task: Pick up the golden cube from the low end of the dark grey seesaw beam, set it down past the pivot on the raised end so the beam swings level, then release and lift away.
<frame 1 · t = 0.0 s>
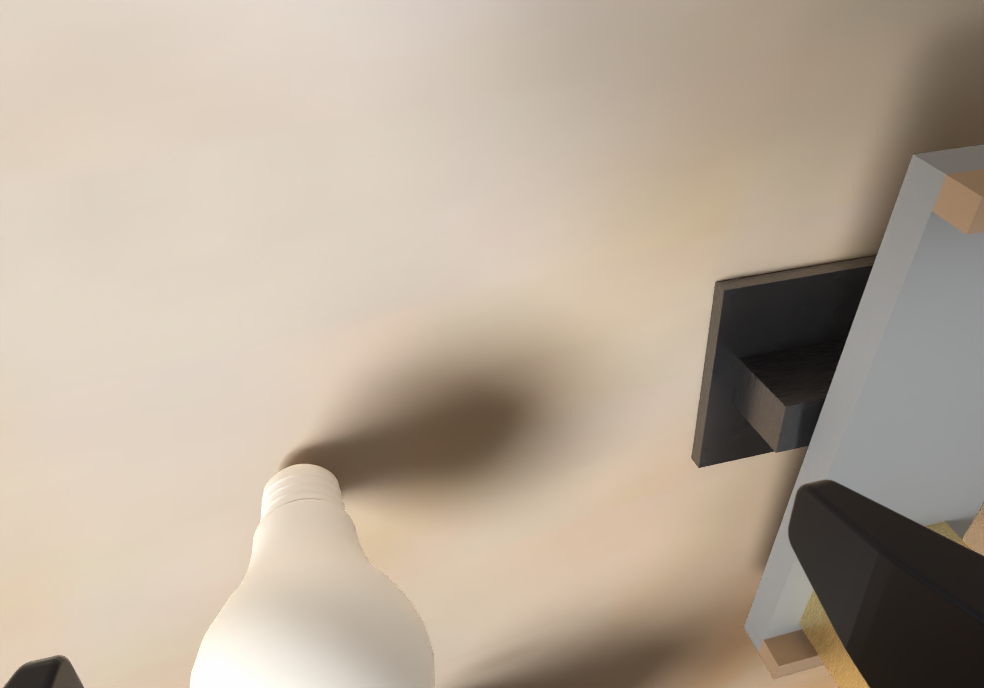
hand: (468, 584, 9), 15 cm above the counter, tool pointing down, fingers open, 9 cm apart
beam: (929, 454, 26), point 5 cm above the counter, hinge at -6.2°, touching golden cube
pivot stand: (843, 349, 30), on the counter
lightbulb: (300, 473, 27), on the counter
golden cube: (869, 574, 31), point 4 cm above the counter, tilted 6°, touching beam
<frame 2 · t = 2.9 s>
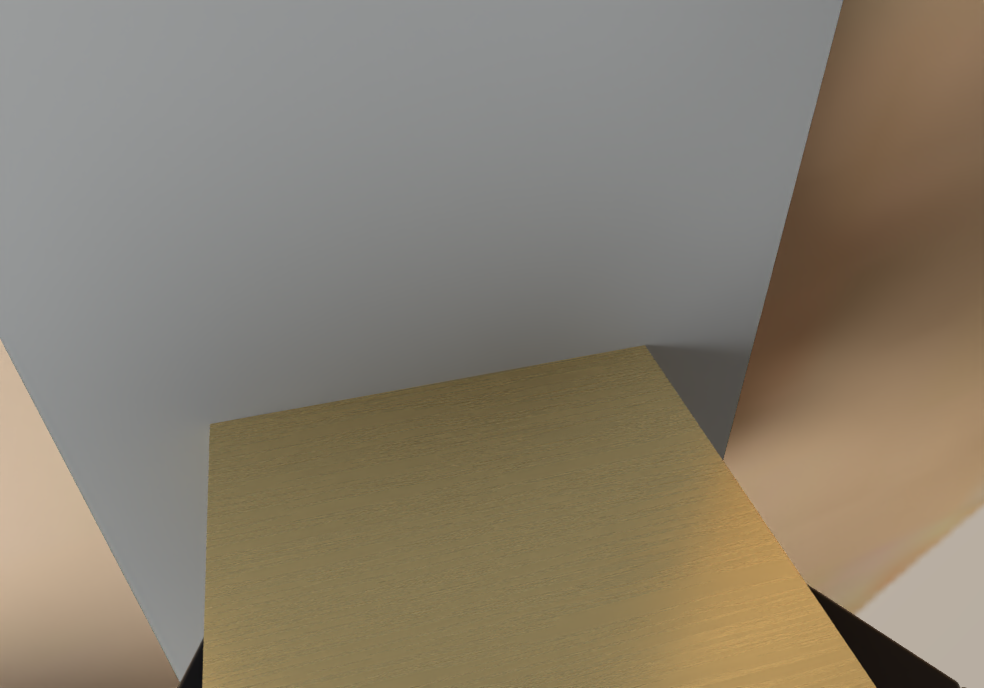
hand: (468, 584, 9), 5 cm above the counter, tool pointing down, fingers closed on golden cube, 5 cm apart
golden cube: (449, 522, 10), point 4 cm above the counter, tilted 6°, touching beam, gripper
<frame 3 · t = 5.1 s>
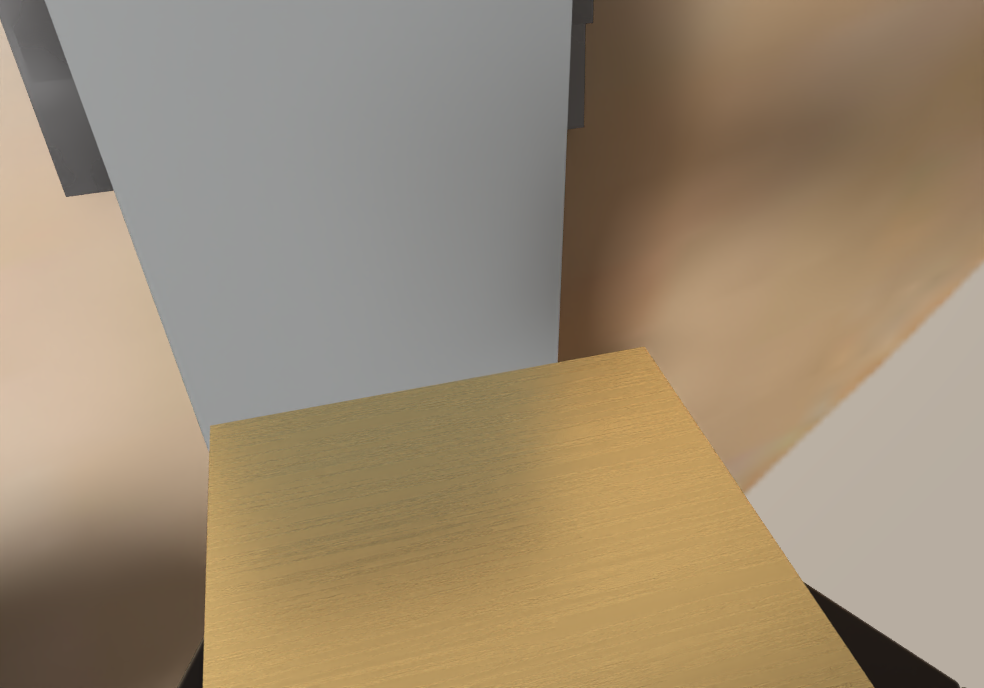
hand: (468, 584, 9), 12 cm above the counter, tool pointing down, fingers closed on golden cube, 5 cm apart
beam: (341, 76, 13), point 5 cm above the counter, hinge at -6.1°
golden cube: (449, 523, 10), point 11 cm above the counter, tilted 6°, touching gripper
when the fingers open (8 cm above the counter, at t = 7.5 s): golden cube stays where it is, resting on beam.
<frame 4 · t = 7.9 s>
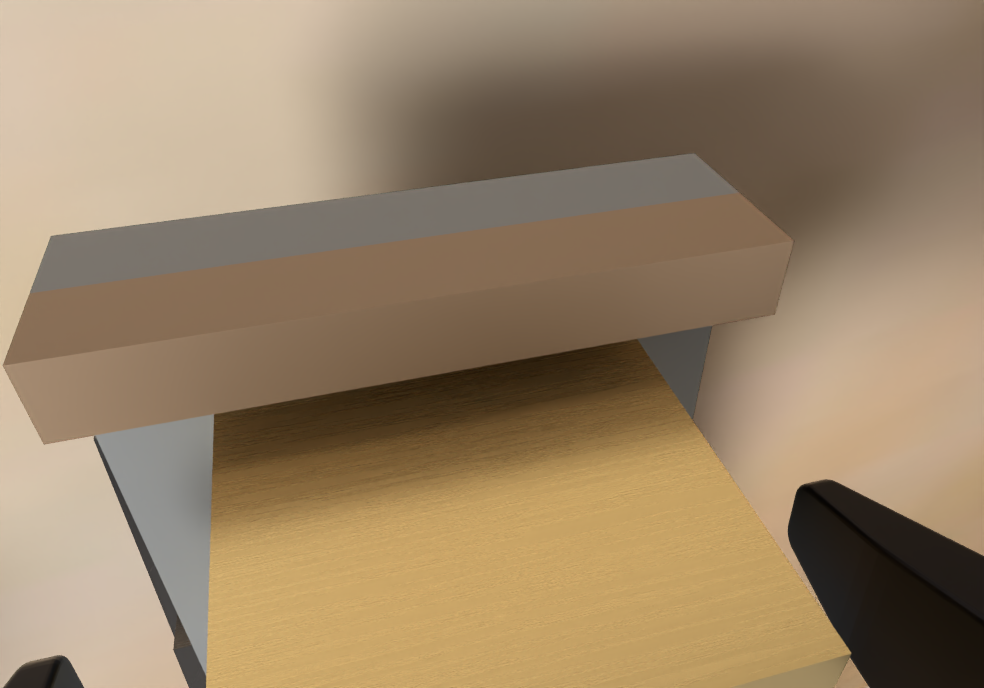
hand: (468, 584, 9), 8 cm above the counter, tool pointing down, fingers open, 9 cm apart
pivot stand: (408, 502, 19), on the counter
golden cube: (436, 476, 11), point 6 cm above the counter, tilted 5°, touching beam
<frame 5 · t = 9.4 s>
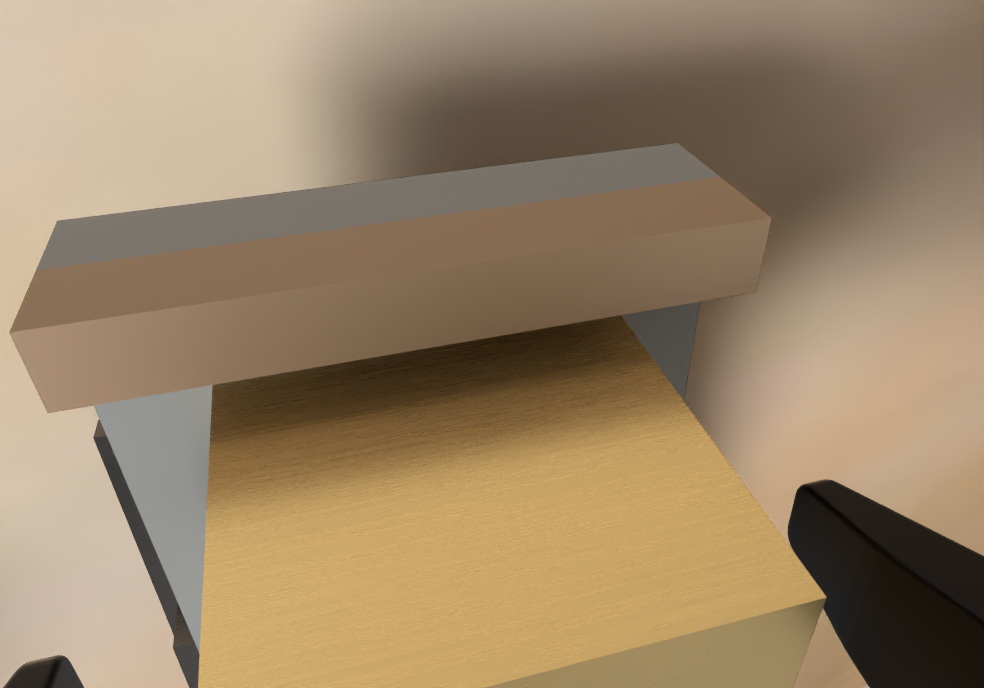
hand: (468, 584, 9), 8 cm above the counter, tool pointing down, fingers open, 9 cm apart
pivot stand: (407, 501, 19), on the counter
golden cube: (431, 461, 11), point 6 cm above the counter, touching beam
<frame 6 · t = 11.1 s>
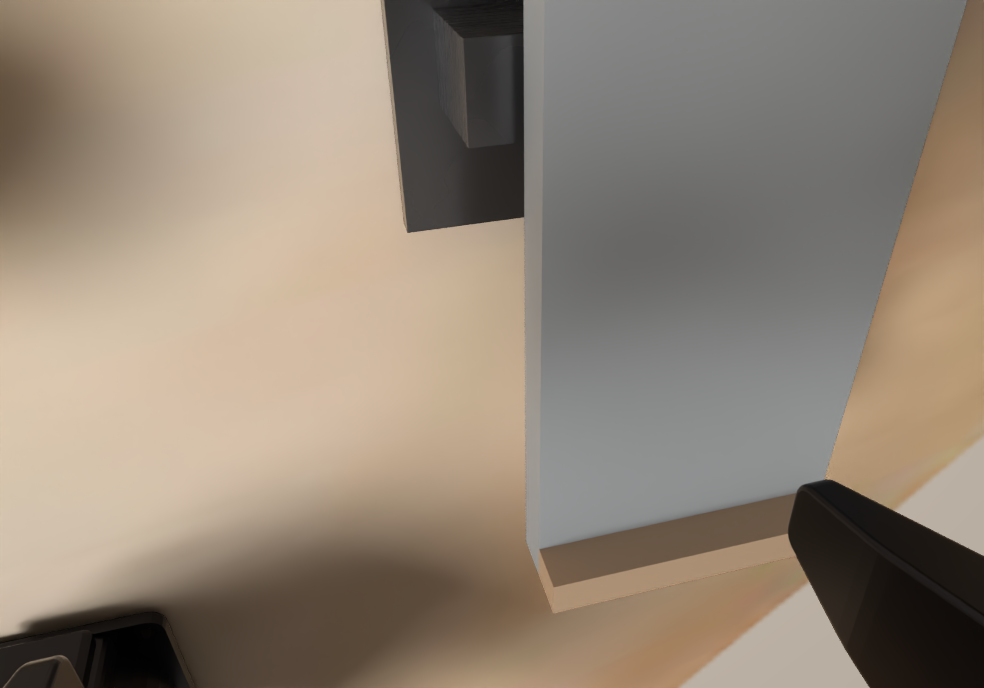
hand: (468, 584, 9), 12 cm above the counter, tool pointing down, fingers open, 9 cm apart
beam: (746, 146, 14), point 5 cm above the counter, hinge at -0.8°, touching golden cube
pivot stand: (640, 33, 18), on the counter
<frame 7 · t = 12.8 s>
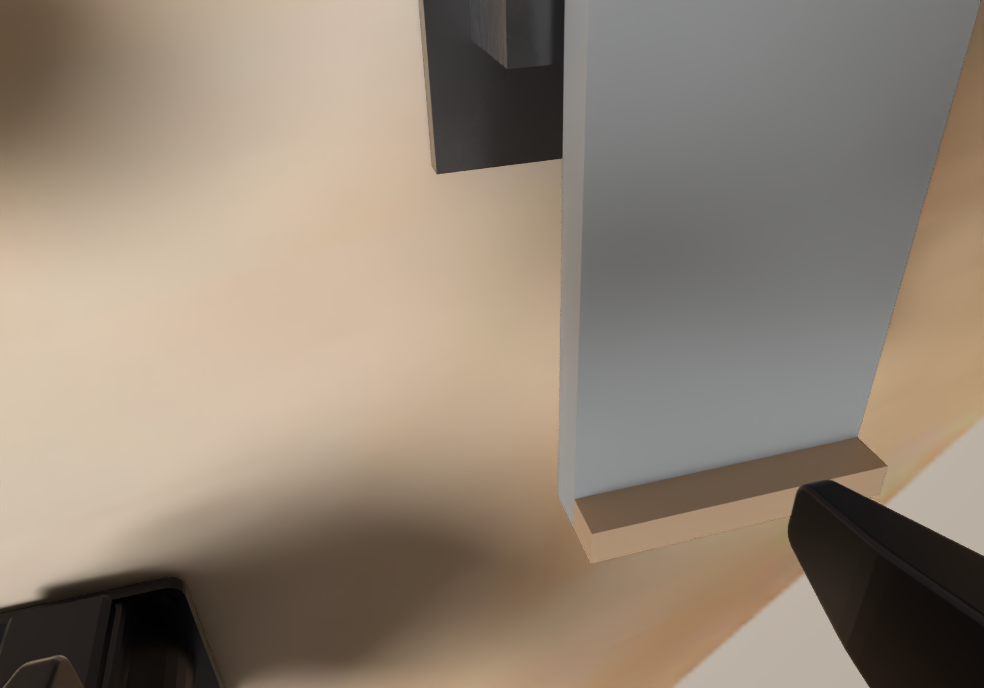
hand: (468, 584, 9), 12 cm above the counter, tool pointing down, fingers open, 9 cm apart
beam: (788, 62, 14), point 5 cm above the counter, hinge at 0.1°, touching golden cube
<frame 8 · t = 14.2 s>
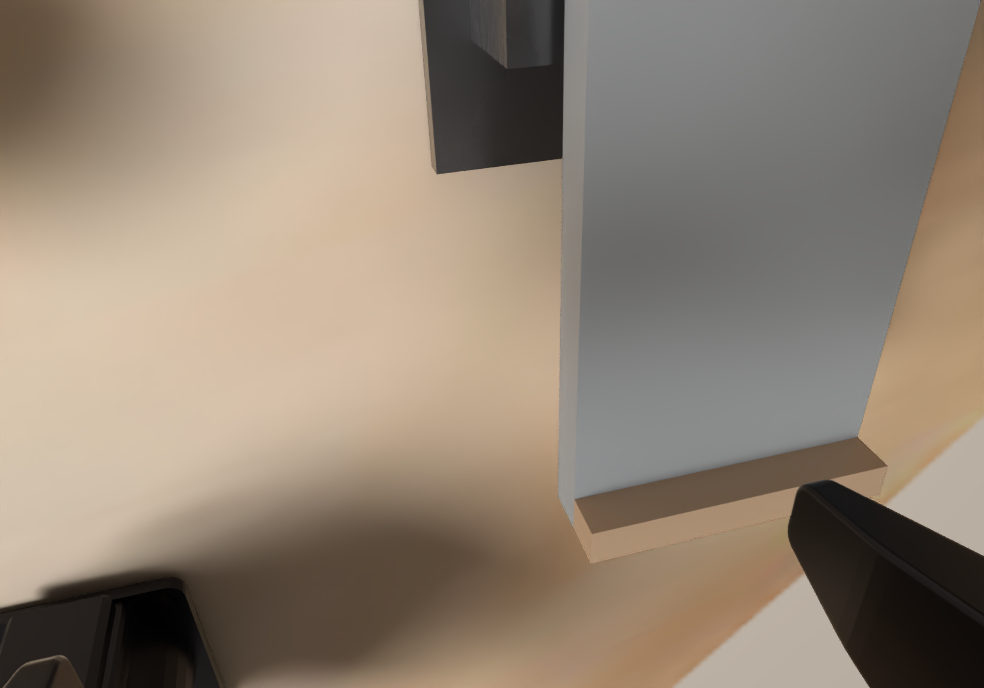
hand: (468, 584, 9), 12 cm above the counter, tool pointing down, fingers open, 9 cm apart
beam: (788, 62, 14), point 5 cm above the counter, hinge at 0.1°, touching golden cube
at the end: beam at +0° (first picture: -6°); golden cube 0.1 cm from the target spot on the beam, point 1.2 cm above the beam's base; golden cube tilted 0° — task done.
